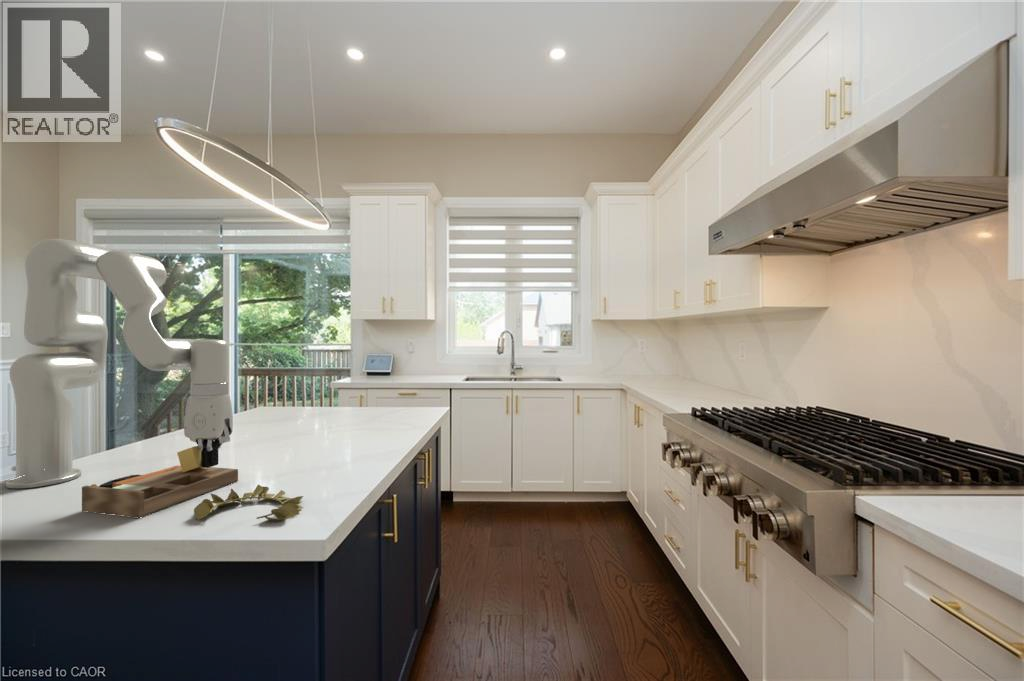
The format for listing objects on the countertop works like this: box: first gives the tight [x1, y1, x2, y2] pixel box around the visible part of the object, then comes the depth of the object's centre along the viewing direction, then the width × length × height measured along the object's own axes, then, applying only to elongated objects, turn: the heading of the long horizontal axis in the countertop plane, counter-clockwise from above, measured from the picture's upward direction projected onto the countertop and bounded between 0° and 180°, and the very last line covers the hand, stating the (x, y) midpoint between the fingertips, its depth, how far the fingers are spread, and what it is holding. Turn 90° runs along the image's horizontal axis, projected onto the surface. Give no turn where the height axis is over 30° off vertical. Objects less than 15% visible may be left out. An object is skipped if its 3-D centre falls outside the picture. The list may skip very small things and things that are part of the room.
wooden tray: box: [81, 466, 239, 519], centre depth 97 cm, size 15×23×5 cm, turn 167°
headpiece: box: [193, 484, 304, 522], centre depth 90 cm, size 21×4×15 cm
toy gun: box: [90, 465, 181, 488], centre depth 107 cm, size 15×2×10 cm
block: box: [176, 445, 201, 472], centre depth 106 cm, size 4×4×5 cm
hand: (209, 465), depth 105 cm, fingers closed
